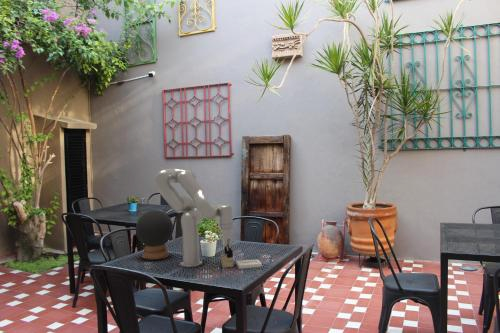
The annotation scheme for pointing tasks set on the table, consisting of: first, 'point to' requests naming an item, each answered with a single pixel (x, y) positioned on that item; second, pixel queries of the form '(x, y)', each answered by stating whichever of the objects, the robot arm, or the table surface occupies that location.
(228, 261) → the oak cube
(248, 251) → the table surface
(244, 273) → the table surface
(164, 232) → the decorative object
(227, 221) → the robot arm
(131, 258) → the table surface
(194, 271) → the table surface
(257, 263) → the dish
